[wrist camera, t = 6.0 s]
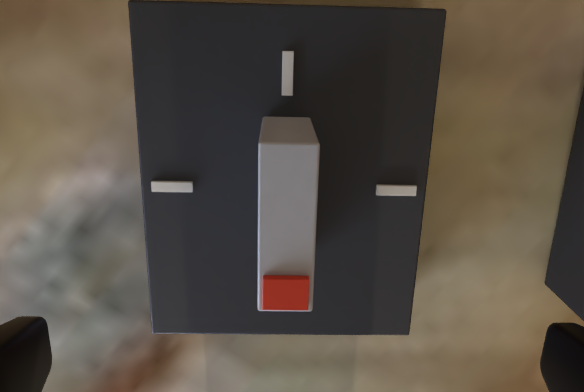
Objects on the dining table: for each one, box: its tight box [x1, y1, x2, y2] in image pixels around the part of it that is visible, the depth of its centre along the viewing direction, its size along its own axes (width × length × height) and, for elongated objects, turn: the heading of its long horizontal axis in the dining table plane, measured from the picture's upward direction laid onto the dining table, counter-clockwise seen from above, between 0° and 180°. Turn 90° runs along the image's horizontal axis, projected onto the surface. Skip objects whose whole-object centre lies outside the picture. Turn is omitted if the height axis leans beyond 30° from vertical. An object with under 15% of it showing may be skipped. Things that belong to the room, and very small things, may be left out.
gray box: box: [257, 116, 320, 311], centre depth 16 cm, size 5×2×4 cm, turn 179°
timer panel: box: [128, 0, 446, 335], centre depth 19 cm, size 12×10×3 cm
